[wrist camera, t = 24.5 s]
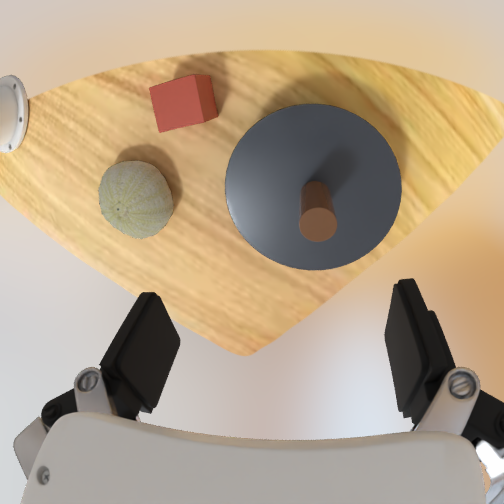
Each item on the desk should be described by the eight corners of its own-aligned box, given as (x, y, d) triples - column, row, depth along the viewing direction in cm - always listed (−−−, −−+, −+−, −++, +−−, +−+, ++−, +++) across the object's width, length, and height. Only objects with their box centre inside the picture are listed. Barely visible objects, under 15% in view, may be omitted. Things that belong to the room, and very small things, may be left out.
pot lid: (207, 228, 28) (184, 267, 23) (264, 74, 20) (250, 69, 14) (346, 284, 29) (353, 330, 24) (426, 156, 21) (461, 181, 15)
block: (177, 125, 27) (158, 133, 23) (169, 86, 24) (148, 87, 21) (218, 116, 26) (204, 122, 22) (210, 75, 23) (194, 74, 20)
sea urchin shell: (145, 253, 34) (87, 245, 27) (136, 202, 36) (85, 189, 30) (193, 212, 30) (129, 194, 23) (178, 159, 32) (123, 136, 26)
